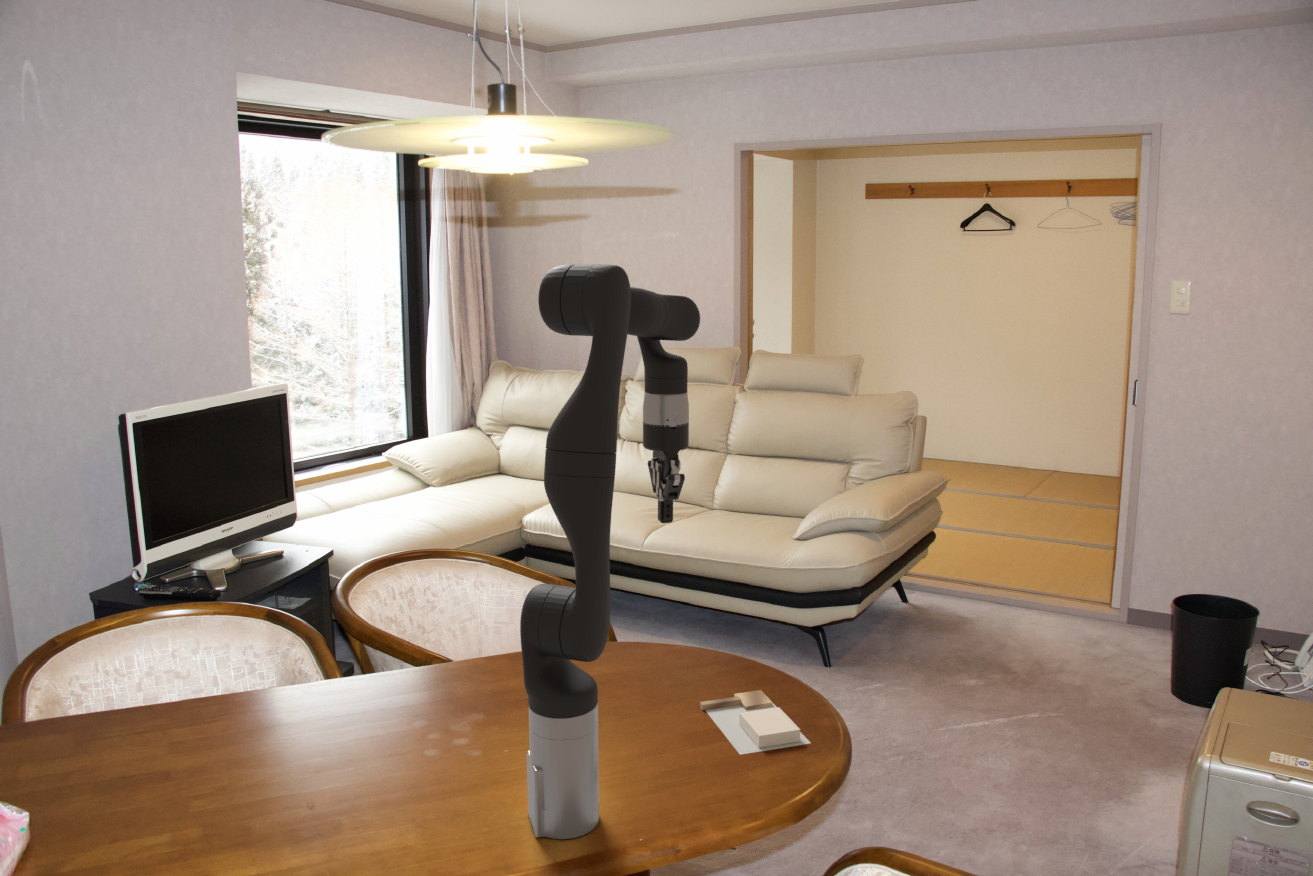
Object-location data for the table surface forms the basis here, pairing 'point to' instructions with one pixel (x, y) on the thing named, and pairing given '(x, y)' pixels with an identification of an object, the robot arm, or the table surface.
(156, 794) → the table surface
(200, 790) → the table surface
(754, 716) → the tile
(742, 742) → the mat
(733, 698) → the turner
